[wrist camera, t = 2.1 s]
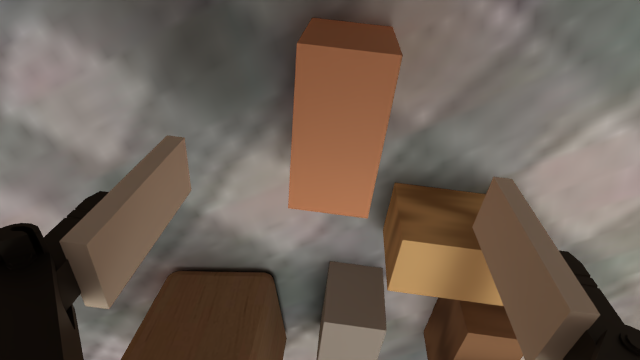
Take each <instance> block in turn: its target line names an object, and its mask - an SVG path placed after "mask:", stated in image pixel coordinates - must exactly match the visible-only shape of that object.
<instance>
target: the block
mask: <svg viewBox="0 0 640 360" xmlns="http://www.w3.org/2000/svg"><path fill="white" fill-rule="evenodd" d="M286 339H287V338H286V334H285V329H284V325H283V320H282V315H281V311H280V306H279V302H278V297H277V292H276V288H275V283H274V280H273V277H272V276H271V275H270V274H267V273H263V272H207V271H177V272H174V273H172V274H170V275H169V276H168V277H167V279H166V281H165V283H164V284H163V286H162V288H161V290H160V291H159V293H158V295H157V297H156V298H155V300H154V302H153V304H152V305H151V307H150V309H149V311H148V313H147V314H146V316H145V318H144V320H143V321H142V323H141V325H140V327H139V328H138V330H137V332H136V334H135V336H134V337H133V339H132V341H131V343H130V344H129V346H128V348H127V350H126V351H125V353H124V355H123V357H122V358H121V360H283V355H284V350H285V344H286Z"/></svg>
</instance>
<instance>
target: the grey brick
mask: <svg viewBox="0 0 640 360" xmlns="http://www.w3.org/2000/svg"><path fill="white" fill-rule="evenodd" d="M385 334H386V315H385V299H384V284H383V268H378V267H370V266H363V265H355V264H348V263H340V262H333V261H330V264H329V270H328V277H327V283H326V290H325V296H324V303H323V310H322V316H321V323H320V331H319V341H318V350H317V360H377V358H378V355H379V352H380V349H381V346H382V343H383V340H384V337H385Z"/></svg>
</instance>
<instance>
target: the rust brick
mask: <svg viewBox="0 0 640 360" xmlns="http://www.w3.org/2000/svg"><path fill="white" fill-rule="evenodd" d="M402 56H403V55H402V52H401V50H400V47H399V44H398V41H397V38H396V35H395V32H394V29H393V27H390V26H381V25H372V24H364V23H355V22H346V21H338V20H329V19H321V18H312V19H311V21H310V22H309V24H308V26H307V27H306V29H305V31H304V32H303V34H302V36H301V37H300V39H299V41H298V42H297V52H296V71H295V90H294V109H293V128H292V147H291V166H290V185H289V204H288V208H292V209H299V210H307V211H315V212H322V213H330V214H338V215H345V216H353V217H361V218H368V214H369V210H370V205H371V200H372V196H373V191H374V186H375V182H376V177H377V172H378V168H379V163H380V158H381V154H382V149H383V144H384V140H385V135H386V131H387V126H388V121H389V117H390V112H391V107H392V103H393V98H394V93H395V89H396V84H397V79H398V75H399V70H400V65H401V61H402Z"/></svg>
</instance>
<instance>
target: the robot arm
mask: <svg viewBox="0 0 640 360" xmlns="http://www.w3.org/2000/svg"><path fill="white" fill-rule="evenodd" d="M190 191H191V184H190V177H189V169H188V161H187V153H186V145H185V138H183V137H175V136H168V135H167V136H166V137H165V138H164V139H163V140H162V141H161V142H160V143H159V144H158V145H157V146H156V147H155V148H154V149H153V150H152V151H151V152H150V153H149V154H148V155H147V156H146V157H145V158H144V159H142V160H141V161H140V162H139V163H138V164H137V165H136V166H135V167H134V168H133V169H132V170H131V171H130V172H129V173H128V174H127V175H126V176H125V177H124V178H123V179H122V180H121V181H120V182H119V183H118V184H117V185H116V186H115V187H114V188H113V189H112V190H111V191H110V192H103V191H100V192H98V193H96V194H94V195H92V196H90V197H88V198H86V199H85V200H84V201H83V202H82V203H81V204H79V205H78V206H77V207H76V208H75V210H73V211H72V212H71V213H70V214H69V215H67V218H64V219H63V220H62V221H61V222H60V223H59V224H58V225H57V226H56V227H54V228H53V229H52V230H51V231H50V232H49V233H48V234H47V235H46V236H45V237H44V238H43V236H42V234H41V231H40V230H39V228H38V226H36V225H33V224H29V223H19V224H13V225H9V226H6V227H3V228H0V360H84V359H83V353H82V347H81V342H80V336H79V330H78V324H77V319H76V313H75V309H74V307H73V302H74V301H75V300H76V299H77V297H78V296H79V295H80V294H81V296H82V298H83V301H84V303H85V306H91V307H98V308H105V309H110V307H111V306H112V304H113V303H114V301H115V300H116V299H117V297H118V296H119V294H120V293H121V291H122V290H123V288H124V287H125V286H126V284H127V283H128V281H129V280H130V278H131V277H132V275H133V274H134V272H135V271H136V270H137V268H138V267H139V265H140V264H141V262H142V261H143V259H144V258H145V257H146V255H147V254H148V252H149V251H150V249H151V248H152V246H153V245H154V244H155V242H156V241H157V239H158V238H159V236H160V235H161V233H162V232H163V231H164V229H165V228H166V226H167V225H168V223H169V222H170V220H171V219H172V218H173V216H174V215H175V213H176V212H177V210H178V209H179V207H180V206H181V204H182V203H183V202H184V200H185V199H186V197H187V196H188V194H189V193H190ZM472 228H473V230H474V233H475V235H476V238H477V240H478V243H479V245H480V248H481V250H482V253H483V255H484V258H485V260H486V263H487V265H488V268H489V270H490V273H491V275H492V278H493V280H494V283H495V285H496V288H497V290H498V293H499V295H500V298H501V300H502V303H503V305H504V308H505V310H506V313H507V315H508V318H509V320H510V323H511V325H512V328H513V330H514V333H515V335H516V338H517V340H518V343H519V345H520V348H521V351H522V353H523V356H524V358H525V360H640V331H639V330H637V329H635V328H633V327H631V326H628V325H624V323H623V322H622V320H621V319H620V317H619V316H618V315H617V313H616V312H615V310H614V309H613V307H612V306H611V304H610V303H609V302H608V300H607V299H606V297H605V296H604V294H603V293H602V292H601V290H600V289H599V288H597V284H596V283H595V282H594V280H593V279H592V278H590V274H589V273H588V272H587V270H586V269H585V267H584V266H583V264H582V263H581V262H580V261H578V260H577V259H576V258H575V257H574V256H573V255H571V254H570V253H569V252H566V251H559V250H558V249H557V247H556V246H555V244H554V243H553V241H552V240H551V238H550V237H549V235H548V234H547V232H546V230H545V229H544V227H543V226H542V224H541V223H540V221H539V220H538V218H537V217H536V215H535V214H534V212H533V210H532V209H531V207H530V206H529V204H528V203H527V201H526V200H525V198H524V197H523V195H522V194H521V192H520V191H519V189H518V187H517V186H516V184H515V183H514V181H513V180H512V179H507V178H500V177H493V179H492V182H491V184H490V186H489V189H488V191H487V193H486V196H485V198H484V201H483V203H482V205H481V208H480V210H479V212H478V215H477V217H476V219H475V222H474V224H473V227H472Z"/></svg>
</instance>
